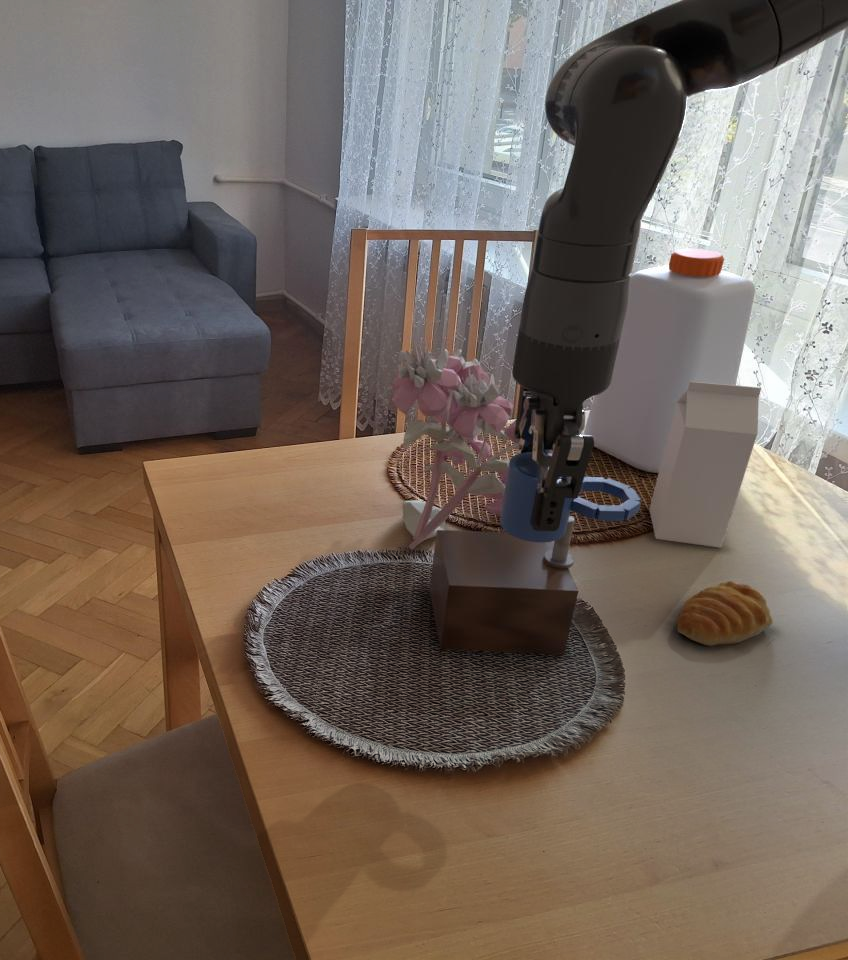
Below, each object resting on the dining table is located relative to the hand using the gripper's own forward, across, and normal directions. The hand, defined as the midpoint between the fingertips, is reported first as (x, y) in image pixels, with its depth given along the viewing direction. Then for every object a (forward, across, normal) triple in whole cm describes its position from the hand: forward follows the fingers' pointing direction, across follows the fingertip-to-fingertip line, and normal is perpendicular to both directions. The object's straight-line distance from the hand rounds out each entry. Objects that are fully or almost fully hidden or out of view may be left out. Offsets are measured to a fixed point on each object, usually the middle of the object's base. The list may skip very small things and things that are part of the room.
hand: (535, 509), depth 76 cm
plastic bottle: (+18, +48, -30) cm, 59 cm away
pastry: (+18, +7, -23) cm, 30 cm away
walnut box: (+18, +7, 0) cm, 19 cm away
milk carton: (+18, +26, -26) cm, 41 cm away
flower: (+18, +28, -1) cm, 33 cm away
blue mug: (+2, 0, -3) cm, 3 cm away
